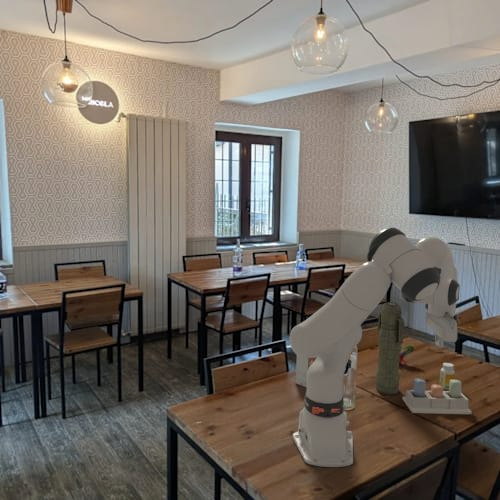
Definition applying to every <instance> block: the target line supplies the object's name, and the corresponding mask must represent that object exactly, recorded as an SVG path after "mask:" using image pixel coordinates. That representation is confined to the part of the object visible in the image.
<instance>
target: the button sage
mask: <svg viewBox="0 0 500 500" xmlns="http://www.w3.org/2000/svg"><path fill="white" fill-rule="evenodd" d="M448 391H449V397H450V398H461V393H462V381H461V380H460V379H459V380H458V379H452V380H450V383H449V390H448Z"/></svg>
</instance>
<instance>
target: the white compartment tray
mask: <svg viewBox="0 0 500 500" xmlns="http://www.w3.org/2000/svg"><path fill="white" fill-rule="evenodd" d="M402 401H403V402H404V404H405V405H406V406H407V407H408V409H409V411H410V412H411V414H442V415H472V413H473V412H472V409H470V408H469V401H470V400H469V398H467V396H466V395H464V394H463V392H461V398H450V397H449V390H443V398H432V397H431V390H425V397H414V396H413V389H412V390H411V389H410V390H409V389H406V390H405V396H402Z"/></svg>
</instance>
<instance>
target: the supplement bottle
mask: <svg viewBox="0 0 500 500" xmlns="http://www.w3.org/2000/svg"><path fill="white" fill-rule="evenodd" d="M454 367H455V366H454V364H453V363H451V362H450V363H449V362H443V363H442V368H441V369H440V373H439V383H438V385H441V386H443V390H446V391H449V383H450V380H452V379H455V376H456V372H455V370H454ZM455 380H456V379H455Z"/></svg>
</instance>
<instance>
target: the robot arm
mask: <svg viewBox="0 0 500 500" xmlns="http://www.w3.org/2000/svg"><path fill="white" fill-rule="evenodd" d="M368 247H369V248H368V252H367V255H366V259H367V261H366V262H363V263H362V264H361V265H360V266H358V267H357V268H355V270H354V271H353V272H352V273H351V274H350V275H349V276H347V278H346V279H345V281H344V282H343V283H342V285H340V287H339V289H338V290H336V292H335V293H334V294H333V296H332V297H331V298H330V299H329V300H328V302H326V303H325V304H324V305H322V307H320V308H319V309H318V310H316V311H315V312H314V313H313V314H312V315H311V316H309V317H308V318H307V319H305V320H304V321H302V322H300V323H299V324H297V325H295V326H294V327H293V328H292V329H291V330H290V333H289V345H290V347H291V349H292V351H293V353H294V354H295V355H296V356H297V355H298V356H299V357H305V358H315V357H317V358H316V360H315V361H314V362H313V363H312V365H311V366H310V367H309V369H308V372H307V387H306V391H305V394H304V398H303V399H304V407H303V408H302V409H301V410H300V411H299V417H298V427H297V428H298V429H297V431H295V432H294V433H292V439H293V441H294V443H295V445H296V448H297V449H298V451H299V453H300V455H301V456H302V458H303V461H304V462H305V463H306V464H308V465H312V466H315V467H316V466H317V467H324V468H325V467H326V468H342V467H349V466H351V465H353V464H354V442H353V441H354V438H353V434H352V433H353V432H352V430H347V427H350V421H347V415H348V414H347V412H346V411H345V410H344V408H345V407H344V406H345V401H344V396H343V389H344V377H345V372H346V368H347V365H348V362H349V359H350V357H351V354H352V353H353V351H354V349H355V348H356V347H357V346H358V344H359V343H360V342H361V340H362V337H363V328H362V326H361V325H362V324H363V323H364V322H365V320H366V319H367V318H369V316H370V315H371V313H372V312H374V310H375V309H376V308H377V307H378V305H379V304H380V303H381V301H382V300H383V299H384V297H385V296H386V294H387V292H388V290H389V288H390V287H391V284H393V285H395V287H396V288H397V289H399V291H400V294H401V297H402V298H403V300H404V301H406V302H407V303H415V304H416V303H419V304H424V308H425V313H424V314H425V315H424V316H425V317H424V320H425V321H424V322H425V326H426V328H427V329H429V330H431V331H432V332H433V333H434V334H433V335H434V340H435V346H436V347H438V348H440V349H441V348H444V343H456V342H457V340H458V323H457V322H458V321H457V320H456V319H455V318H454V317H455V316H456V309H457V302H458V301H459V299H460V288H461V285H460V284H459V282H458V272H457V267H455V262H454V257H453V254H452V252H451V249H450V248H449V246H448V245H447V244H446V242H445V241H444V240H443V239H440V238H438V237H435V236H427V237H424V238H422V239H420V240H419V241H418V242H417V243H416V244H415V243H414V242H413V241H412V240H411V239H409V238H408V237H407V235H406V233H404V232H403V231H401V230H400V229H398V228H396V227H388V228H384V229H381V230H380V231H379V232H378V233H377V234H376V235H374V237H373V238H372V239H371V241H370V244H369V246H368Z"/></svg>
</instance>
